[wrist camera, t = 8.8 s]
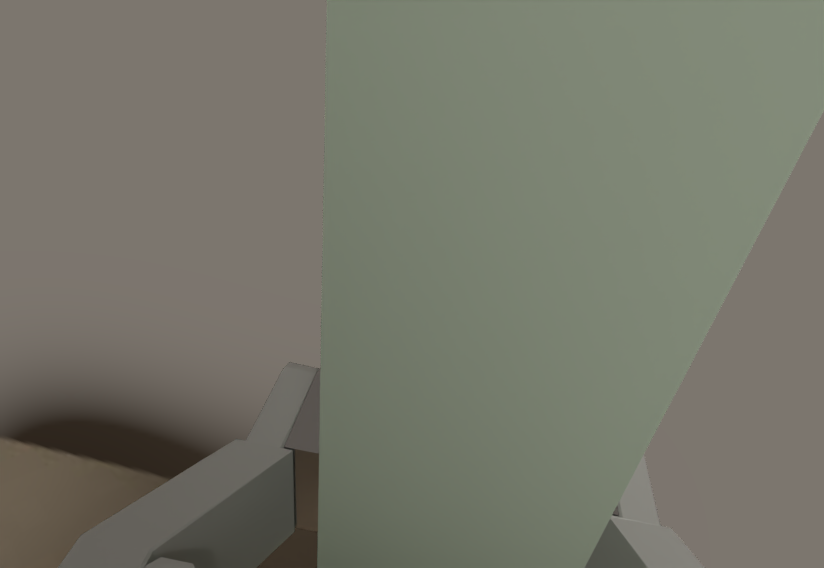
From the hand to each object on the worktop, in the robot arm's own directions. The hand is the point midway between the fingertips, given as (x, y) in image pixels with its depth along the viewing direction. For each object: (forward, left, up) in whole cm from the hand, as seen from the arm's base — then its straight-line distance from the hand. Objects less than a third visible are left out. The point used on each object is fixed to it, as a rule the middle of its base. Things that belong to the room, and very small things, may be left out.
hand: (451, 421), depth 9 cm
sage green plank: (0, -1, -10) cm, 10 cm away
